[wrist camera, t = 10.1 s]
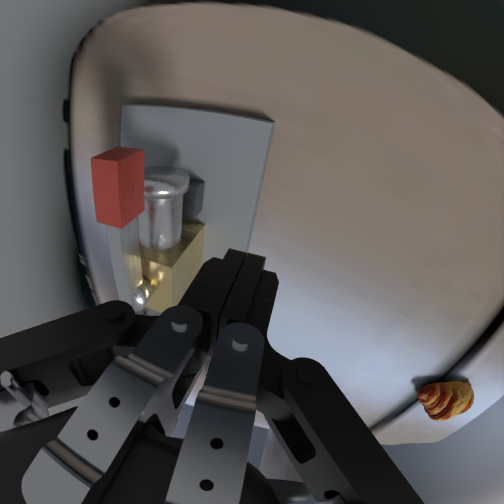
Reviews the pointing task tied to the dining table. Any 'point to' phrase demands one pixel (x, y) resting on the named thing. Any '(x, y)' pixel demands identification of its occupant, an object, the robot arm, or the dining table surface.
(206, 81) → the dining table surface
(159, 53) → the dining table surface
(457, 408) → the croissant
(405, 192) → the dining table surface
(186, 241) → the valve pipe
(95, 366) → the robot arm
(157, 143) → the slate board
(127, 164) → the lever
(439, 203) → the dining table surface
